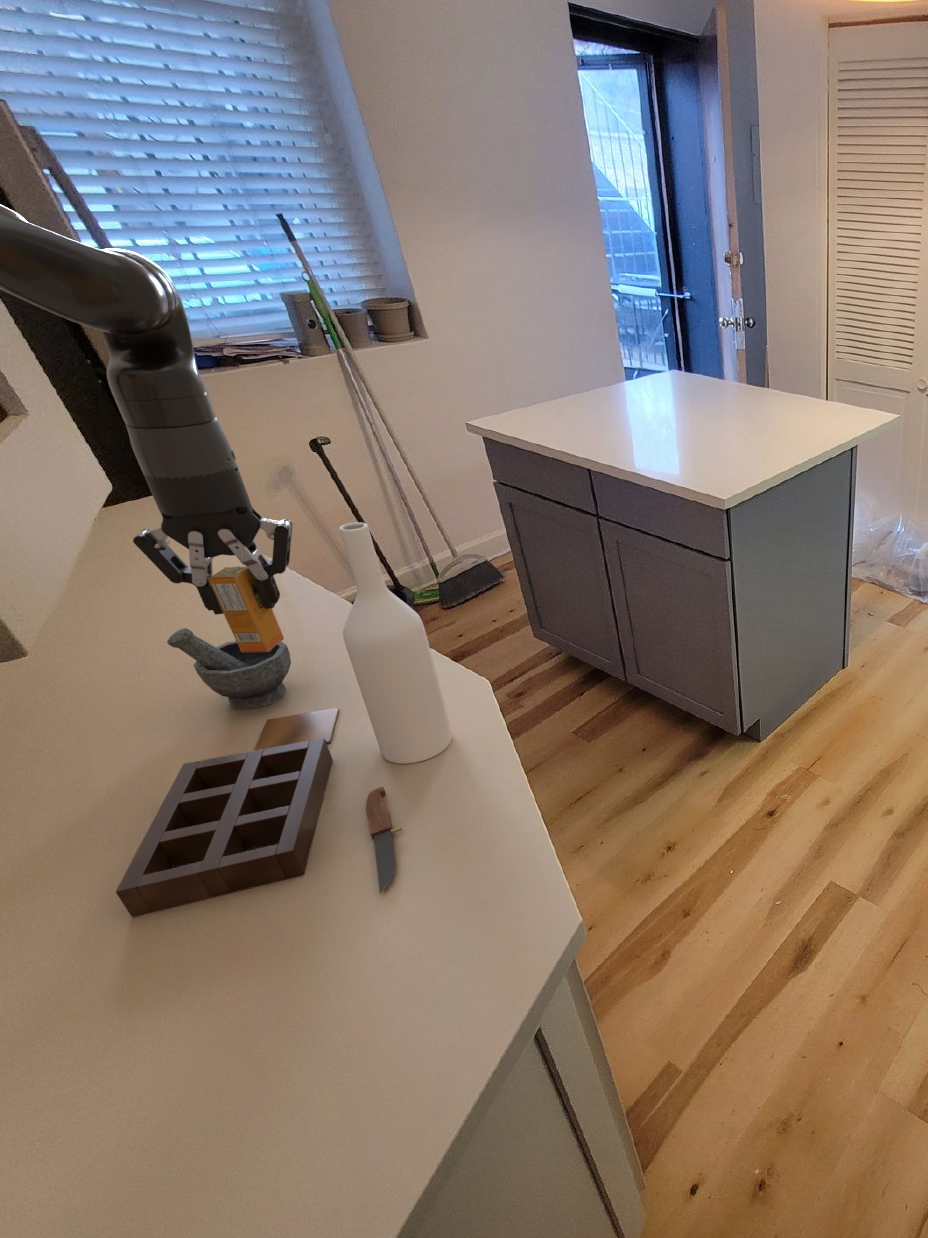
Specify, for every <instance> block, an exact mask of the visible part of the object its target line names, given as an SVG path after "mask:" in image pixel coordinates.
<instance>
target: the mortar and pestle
mask: <svg viewBox="0 0 928 1238" xmlns="http://www.w3.org/2000/svg"><path fill="white" fill-rule="evenodd" d="M166 643H167V645H169V646H170V647H172V648H173V649H174V648H176V649H179V650H181V652H183V653H185V654H186V655H188V656H189V657H190V658H192V659H194V660H195V662H194V663H193V667H194V669H195V671H196V674H197V675H198V676H199V678H200V679H201V680H202V682H203V683H204V684H205V685H206V686H207V687H208V688H209V689H210V690H212V691H213V692H215V693H216V694H218V695H220V696H221V697H224V698H228V701H229V704H230V705H231V706H232V707H233V708H234V709H236V710H253V709H258V708H261V707H266V706H269V705H271V704H273V703H275V702H276V701H279V700H280V699H282V698H283V697H284V696H285V694H286V692H287V688H286V686H285V684H284V683H283V681H284V680H285V679H286V677H287V675H288V674H289V672H290V671H289V670H290V668H291V664H292V661H291V654H290V650H289V648H288V646H287V644H286V643H285V642H284V641H283V640H282V641H281V642H279V643H278V644H277V645H276V646H275V647H274V648H273V649H272V650H271V651H269V652H241V650H240V648H239V646H238V644H237V641H236V640H234V641H229V642H226V643H223V644H221V645H218V646H214V645H213V644H211V643H209V642H207V641H206V640H204V639H202V638H200V637H198V636H196V635H195V634H194V633H193V631H192V630H191V629H189V628H187V627H182V628H180V629H178V630H176V631H175V632H173V633H172V634H171V635H170V636H169V638H168V639H167V642H166Z"/></svg>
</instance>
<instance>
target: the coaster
mask: <svg viewBox="0 0 928 1238" xmlns="http://www.w3.org/2000/svg"><path fill="white" fill-rule="evenodd" d="M339 713H340V707H334V708H328V709H327V708H326V709H322V710H315V711H309V712H304V713H298V714H297V713H296V714H292V715H285V716H280V717H275V718H274V717H273V718H269V719H266V721H265V724H264V726H263V729H262V731H261V733H260V736H259V738H258V740H257V743H256V746H255V748H254V750H253V751H256V750H261V749H267V748H272V747H278V746H283V745H289V744H294V743H299V742H305V741H311V740H316V739H322V738H325V741H326V743H327V745H330V744H331V743H332V739H333V735H334V732H335V728H336V724H337V720H338V717H339Z"/></svg>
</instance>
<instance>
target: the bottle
mask: <svg viewBox="0 0 928 1238" xmlns="http://www.w3.org/2000/svg"><path fill="white" fill-rule="evenodd" d="M338 529H339V533H340V536H341V540H342V544H343V547H344V550H345V553H346V556H347V560H348V563H349V565H350V569H351V573H352V576H353V581H354V583H355V584H354V585H355V587H356V597H355V599H354V601H353V604H352V605H351V608H350V610H349V613H348V614H347V617H346V619H345V622H344V625H343V629H342V638H343V641H344V645H345V648H346V651H347V654H348V657H349V660H350V663H351V667H352V670H353V673H354V675H355V678H356V681H357V684H358V687H359V690H360V694H361V697H362V699H363V702H364V706H365V709H366V711H367V714H368V717H369V721H370V722H371V726H372V730H373V732H374V735H375V739H376V741H377V744H378V747H379V750H380V755H381V756H382V757H383V758H384V760H386V761H388V762H390V763H394V764H400V765H404V764H406V765H407V764H415V763H420V762H423V761H426V760H429V759H431V758H433V757H436V756H437V755H439V754H441V753H442V752H443V751H445V750H446V749H447V748H448V747H449V746H450V744H451V742H452V740H453V731H452V727H451V723H450V719H449V715H448V711H447V708H446V705H445V701H444V696H443V694H442V689H441V686H440V682H439V678H438V674H437V671H436V670H437V669H436V666H435V663H434V659H433V655H432V652H431V647H430V643H429V638H428V636H427V633H426V628H425V626H424V622H423V620H422V619H421V616H420V615H419V614H418V613H417V612H416V611H415V610H414V609H413V608H412V607H411V606H410V605H408V604H407V603H406V602H404V601H403V600H402V599H401V598H399V597H398V596H397V595H396V594H395V593H393V591H391V590H389V588H388V586H387V585H386V582H385V580H384V576H383V573H382V570H381V567H380V562H379V559H378V557H377V556H378V555H377V553H376V549H375V546H374V542H373V538H372V535H371V531H370V529H369V526H368V524H367V523H365V522H359V521H357V522H356V521H355V522H348V523H344V524H343V525H341V526H340V527H339V528H338Z"/></svg>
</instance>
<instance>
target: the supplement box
mask: <svg viewBox="0 0 928 1238" xmlns="http://www.w3.org/2000/svg"><path fill="white" fill-rule="evenodd" d="M255 580H256V578H255V576H254V575H253V574H252V573H251V571H250V570H249V569H248V567H247V566H226V567H223V568H222V569H221V570H219V571H217V572H215V573H213V575H212V576H211V577H210V578H208V581H209V583H210V585H211V587H212V589H213V592H214V594H215V596H216V598H217V600H218V602H219V605H220V607H221V609H222V611H223V613H224V614H223V616H224V618H225V621H226V622H227V624H228V627H229V628H230V630H231V633H232V635H233V637H234V640H235V641H237V644H238V646H239V648H240V650H241V652H269V651H271V650H272V649H273V648H274V647H275V646H276V645H277V644H278V643H279V642H281V641H282V642H283V640H284V635H283V632H282V629H281V627H280V624H279V622H278V620H277V618H276V615H275V613H274V610H273V608H270V609H265V608H264V605H263V602H262V600H261V597H260V595H259V592H258V589H257V587H256V584H255Z"/></svg>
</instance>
